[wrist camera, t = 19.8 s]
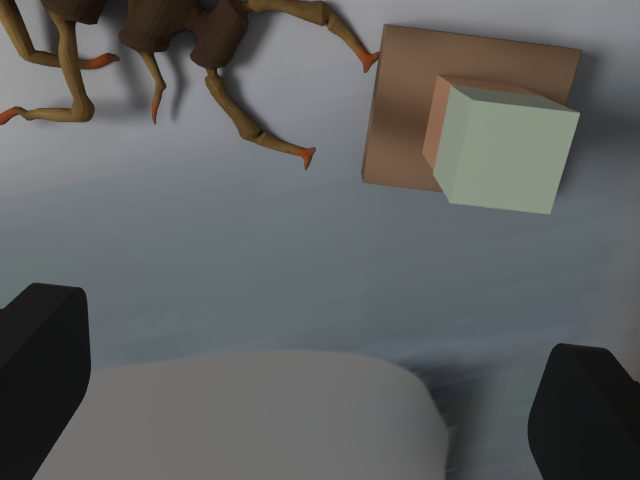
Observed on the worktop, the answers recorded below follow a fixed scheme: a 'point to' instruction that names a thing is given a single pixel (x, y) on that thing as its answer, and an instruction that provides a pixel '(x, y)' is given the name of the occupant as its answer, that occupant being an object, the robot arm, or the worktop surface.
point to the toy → (153, 36)
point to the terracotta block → (441, 104)
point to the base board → (419, 84)
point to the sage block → (503, 149)
